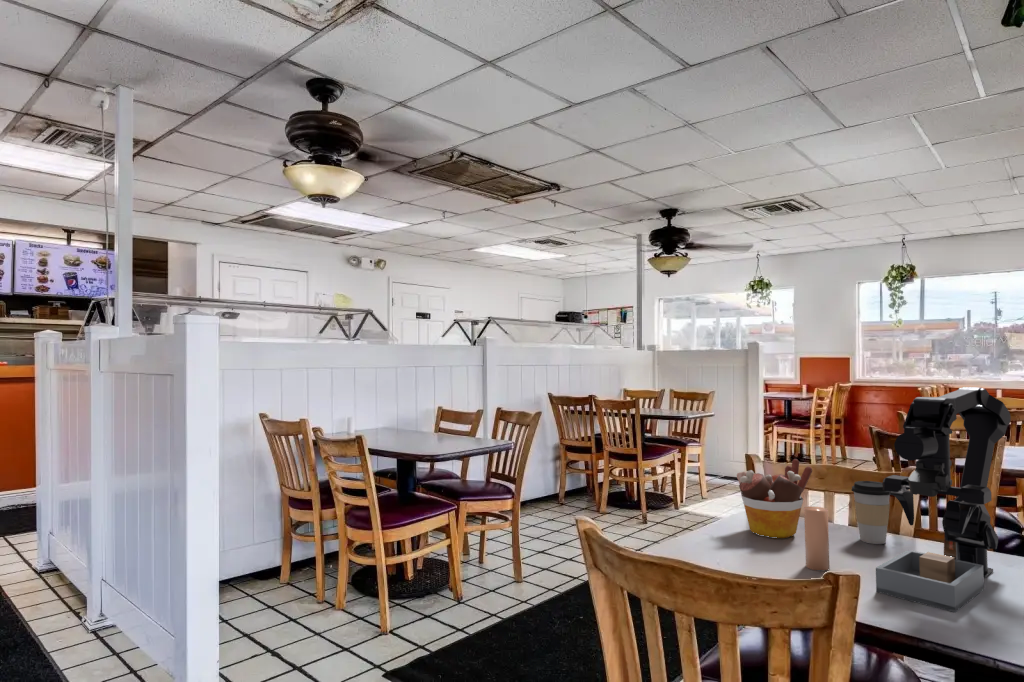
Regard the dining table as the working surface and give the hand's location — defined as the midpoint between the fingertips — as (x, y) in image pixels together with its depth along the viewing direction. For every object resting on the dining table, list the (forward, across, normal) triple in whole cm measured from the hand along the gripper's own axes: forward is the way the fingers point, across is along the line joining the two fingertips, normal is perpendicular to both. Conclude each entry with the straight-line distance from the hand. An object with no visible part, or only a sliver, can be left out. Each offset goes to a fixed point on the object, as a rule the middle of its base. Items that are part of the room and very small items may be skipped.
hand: (935, 529), depth 135 cm
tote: (+12, 0, -4) cm, 13 cm away
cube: (+11, 0, 0) cm, 11 cm away
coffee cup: (+12, -22, +24) cm, 34 cm away
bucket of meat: (+12, -43, +12) cm, 46 cm away
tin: (+12, -5, +28) cm, 31 cm away
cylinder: (+12, -22, -7) cm, 26 cm away
